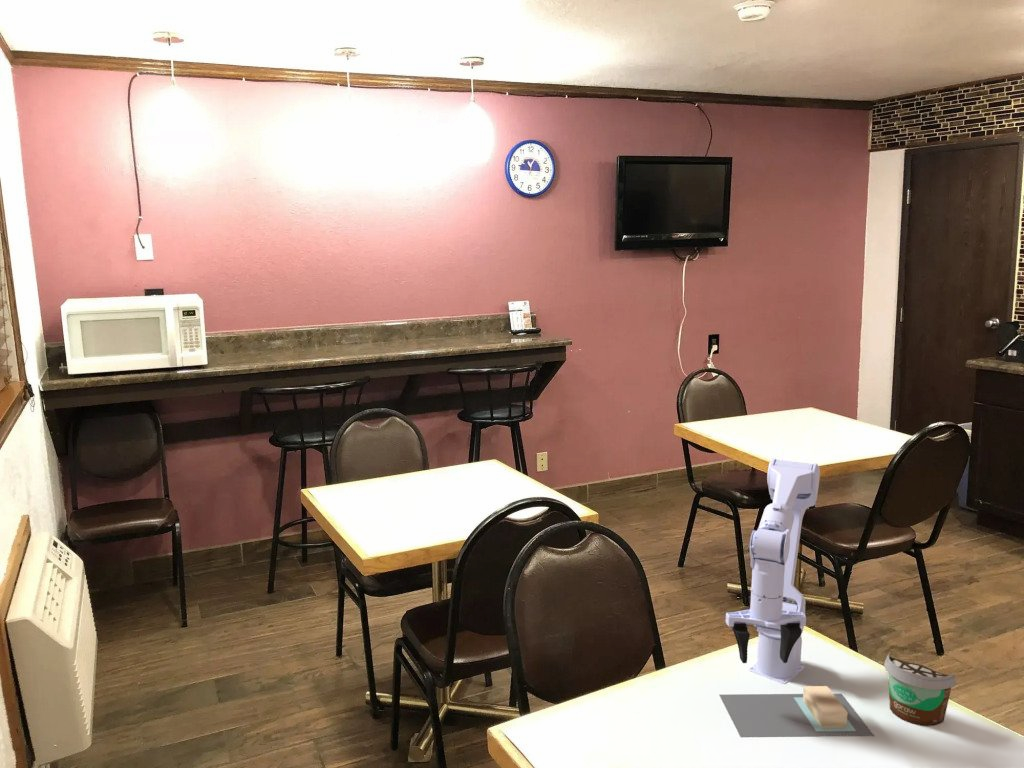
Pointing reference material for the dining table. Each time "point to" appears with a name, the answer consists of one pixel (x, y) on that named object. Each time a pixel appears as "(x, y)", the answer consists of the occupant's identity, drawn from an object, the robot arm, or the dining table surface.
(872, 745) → the dining table surface
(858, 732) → the mat
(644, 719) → the dining table surface
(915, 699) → the food container
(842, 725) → the tan wooden block
